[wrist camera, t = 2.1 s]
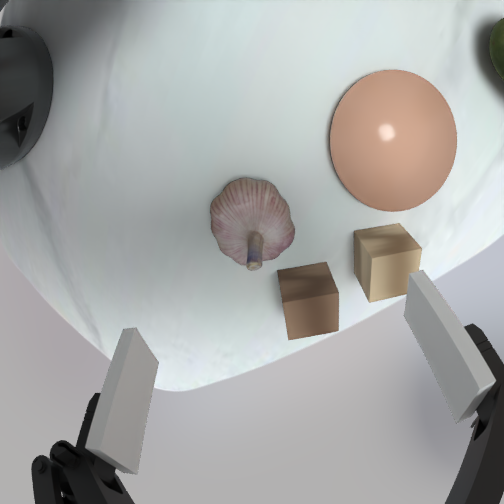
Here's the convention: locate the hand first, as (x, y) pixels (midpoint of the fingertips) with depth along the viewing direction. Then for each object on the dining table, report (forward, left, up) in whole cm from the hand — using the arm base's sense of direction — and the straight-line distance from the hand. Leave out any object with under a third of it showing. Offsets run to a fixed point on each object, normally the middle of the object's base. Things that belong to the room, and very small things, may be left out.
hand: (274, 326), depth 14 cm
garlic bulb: (-1, -1, -15) cm, 15 cm away
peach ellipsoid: (+13, +4, -15) cm, 20 cm away
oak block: (+11, -7, -15) cm, 20 cm away
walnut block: (+3, -10, -15) cm, 18 cm away
